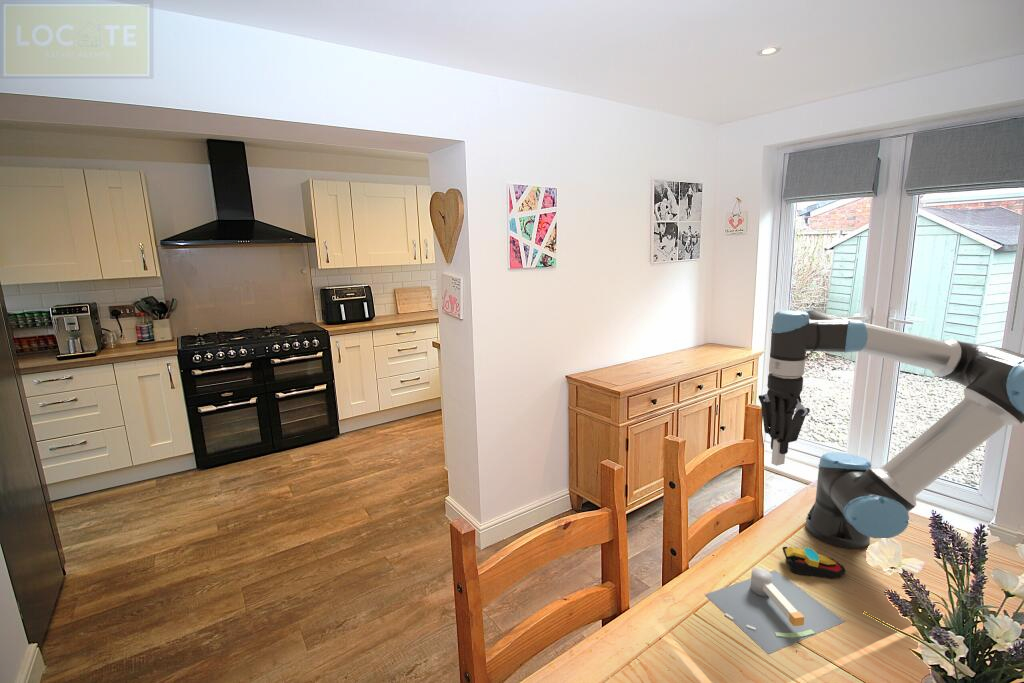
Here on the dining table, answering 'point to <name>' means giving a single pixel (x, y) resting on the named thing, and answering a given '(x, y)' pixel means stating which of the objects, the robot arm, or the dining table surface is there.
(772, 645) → the dial board
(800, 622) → the white mallet
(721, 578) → the dining table surface
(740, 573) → the dining table surface
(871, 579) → the dining table surface
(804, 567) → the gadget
